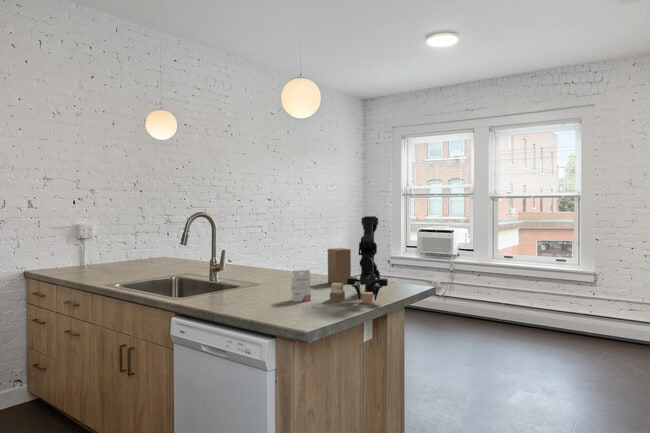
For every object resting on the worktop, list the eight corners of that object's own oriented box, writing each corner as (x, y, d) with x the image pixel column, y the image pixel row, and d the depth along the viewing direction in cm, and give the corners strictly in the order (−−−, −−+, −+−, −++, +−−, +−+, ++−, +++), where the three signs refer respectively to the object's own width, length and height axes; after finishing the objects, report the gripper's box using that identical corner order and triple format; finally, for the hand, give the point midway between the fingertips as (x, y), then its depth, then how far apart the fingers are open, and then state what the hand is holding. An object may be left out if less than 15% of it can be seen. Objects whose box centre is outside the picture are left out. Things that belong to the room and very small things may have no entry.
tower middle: (333, 291, 226) (333, 282, 226) (343, 291, 225) (343, 283, 225) (331, 292, 221) (330, 284, 221) (341, 293, 220) (341, 284, 220)
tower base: (332, 298, 227) (332, 290, 226) (344, 299, 225) (344, 291, 225) (330, 301, 221) (329, 293, 221) (342, 302, 219) (342, 293, 219)
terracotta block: (363, 301, 220) (363, 291, 220) (373, 301, 219) (373, 292, 219) (362, 303, 216) (362, 293, 216) (371, 303, 215) (371, 294, 215)
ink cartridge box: (308, 298, 227) (308, 268, 226) (310, 300, 222) (310, 270, 221) (291, 299, 224) (290, 269, 224) (293, 301, 219) (292, 270, 219)
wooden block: (351, 283, 270) (350, 249, 269) (336, 285, 265) (336, 250, 264) (341, 281, 278) (341, 247, 278) (327, 282, 273) (327, 248, 273)
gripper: (344, 268, 211) (344, 302, 212) (385, 269, 207) (385, 304, 207) (349, 265, 222) (349, 297, 223) (388, 266, 218) (388, 299, 218)
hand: (367, 299), depth 217 cm, fingers open, 7 cm apart
